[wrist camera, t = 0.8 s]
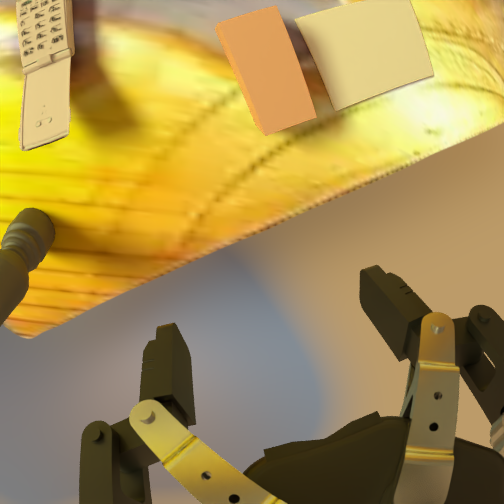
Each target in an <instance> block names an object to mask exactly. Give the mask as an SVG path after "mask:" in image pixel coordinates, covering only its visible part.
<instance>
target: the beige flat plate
mask: <svg viewBox="0 0 504 504" xmlns="http://www.w3.org/2000/svg"><path fill="white" fill-rule="evenodd" d="M294 20H295V22H296V24H297V26H298V28H299V30H300V32H301V34H302V36H303V38H304V40H305V42H306V45H307V47H308V49H309V51H310V53H311V55H312V58H313V60H314V62H315V64H316V67H317V69H318V71H319V73H320V76H321V78H322V81H323V83H324V85H325V88H326V90H327V93H328V95H329V98H330V100H331V103H332V105H333V108H334V111H338V110H340V109H343V108H345V107H347V106H350V105H352V104H355V103H357V102H360V101H362V100H365V99H367V98H370V97H372V96H375V95H378V94H380V93H383V92H386V91H388V90H391V89H394V88H396V87H399V86H402V85H405V84H408V83H411V82H414V81H417V80H420V79H423V78H426V77H429V76H432V75H434V74H433V70H432V66H431V63H430V59H429V55H428V52H427V49H426V45H425V42H424V39H423V36H422V33H421V30H420V27H419V24H418V21H417V18H416V16H415V13H414V10H413V8H412V5H411V3H410V0H365V1H360V2H355V3H351V4H347V5H342V6H338V7H334V8H331V9H327V10H323V11H320V12H316V13H313V14H310V15H306V16H303V17H300V18H297V19H294Z"/></svg>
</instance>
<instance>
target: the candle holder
mask: <svg viewBox="0 0 504 504" xmlns="http://www.w3.org/2000/svg"><path fill="white" fill-rule="evenodd" d="M54 238H55V230H54V226H53V223H52V222H51V220H50V219H49V217H48V216H47V215H46V214H44V213H43V212H42V211H41V210H38V209H35V208H26V209H24V210H23V211H21V212H20V213H19V214H18V215H17V216H16V218H15V219H14V220H13V221H12V223H11V224H10V225H9V226H8V229H7V231H6V233H5V235H4V237H3V239H2V242H1V245H2V248H1V249H0V326H1V325H2V324H3V322H4V321H5V320H6V319H7V317H8V316H9V315H10V314H11V312H12V311H13V310H14V309H15V308H16V306H17V305H18V304H19V303H20V302H21V301H22V299H23V298H24V296H25V294H26V292H27V290H28V287H29V275H28V273H29V272H30V271H32V270H34V269H36V268H37V266H38V264H39V263H40V262H42V261H43V259H44V257H45V256H46V254H47V252H48V250H49V248H50V247H51V245H52V243H53V241H54Z"/></svg>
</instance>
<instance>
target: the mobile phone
mask: <svg viewBox="0 0 504 504" xmlns="http://www.w3.org/2000/svg"><path fill="white" fill-rule="evenodd" d="M16 12H17V27H18V37H19V45H20V53H21V60H22V66H23V67H24V68H23V70H22V71H23V74H24V75H25V79H24V87H23V96H22V107H21V121H20V128H19V141H20V149H21V150H22V151H28V150H32V149H34V148H37V147H40V146H43V145H47V144H50V143H52V142H55V141H57V140H60V139H62V138H64V137H66V136H67V135H68V134H69V122H70V120H71V111H70V108H69V107H70V67H71V57H72V56H73V55H74V54H75V45H74V31H73V12H72V0H16Z"/></svg>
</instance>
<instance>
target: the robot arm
mask: <svg viewBox="0 0 504 504" xmlns="http://www.w3.org/2000/svg"><path fill="white" fill-rule="evenodd" d="M360 303H361V306H362V308H363V310H364V312H365V313H366V315H367V316H368V317H369V319H370V320H371V322H372V323H373V324H374V326H375V327H376V329H377V330H378V332H379V333H380V334H381V335H382V337H383V339H384V340H385V342H386V343H387V345H388V346H389V347H390V349H391V350H392V351H393V353H394V355H395V356H396V358H397V359H398V361H399V362H400V361H402V360H404V359H407V358H408V359H409V360H410V366H409V373H408V379H407V385H406V391H405V397H404V402H403V406H402V409H401V412H400V416H399V417H398V416H386V417H380V415H379V413H378V412H377V411H376V412H374V413H372V414H369V415H367V416H364V417H362V418H359V419H357V420H355V421H352V422H350V423H349V424H347V425H346V426H344V427H343V428H341V429H340V430H338V431H337V432H335V433H334V434H332V435H331V436H329V437H327V438H325V439H320V440H311V441H297V442H290V443H287V444H283V445H280V446H276V447H272V448H268V449H264V454H265V456H264V457H262V458H261V459H259V460H257V461H256V462H254V463H253V464H252V465H250V466H249V467H248V468H247V469H246V470H245V471H244V472H243V474H242V473H241V472H239V471H238V470H237V469H235V468H234V467H233V466H231V465H230V464H229V463H228V462H226V461H225V460H224V459H223V458H221V457H220V456H219V455H218V454H216V453H215V452H214V451H213V450H212V449H210V448H209V447H208V446H207V445H206V444H204V443H203V442H202V441H201V440H200V439H199V438H197V437H196V436H194V435H193V434H191V433H190V432H189V431H188V426H191V425H196V419H195V407H194V395H193V381H192V366H191V356H190V352H189V350H188V347H187V345H186V343H185V341H184V339H183V337H182V335H181V333H180V331H179V329H178V327H177V325H176V324H175V323H171V324H166V325H162V326H158V327H157V330H156V340H152V341H149V342H148V344H147V346H146V347H145V349H144V351H143V363H142V372H141V385H140V399H139V403H138V404H136V405H135V406H134V408H133V409H132V410H131V413H130V416H129V417H128V418H127V419H125V420H123V421H120V422H118V423H116V424H113V425H111V426H109V425H108V424H107V423H106V422H104V421H95V422H92V423H90V424H89V425H88V426H87V427H86V428H85V429H84V431H83V434H82V439H81V454H80V478H79V504H152V499H151V491H150V482H149V471H148V466H149V465H151V464H154V463H156V462H159V461H162V464H163V466H164V467H165V468H166V469H167V470H168V471H169V472H170V474H172V476H173V477H174V478H175V479H176V480H177V481H178V482H179V483H180V484H182V486H184V487H185V489H187V490H188V491H189V492H190V493H191V494H192V495H193V496H194V497H195V498H196V499H197V500H198V501H199V502H201V503H202V504H504V321H503V320H502V319H501V318H500V316H499V315H498V314H497V313H496V312H495V311H494V310H493V309H492V308H490V307H488V306H485V305H477V306H474V307H473V308H472V309H471V311H470V313H469V316H468V317H463V318H457V319H451V318H450V317H449V316H448V315H446V314H444V313H440V312H432V310H431V309H429V307H428V306H427V305H426V304H425V303H424V302H423V301H422V300H421V299H420V298H419V297H418V295H417V294H416V293H415V292H413V290H412V289H411V288H410V287H409V286H407V284H406V283H405V282H404V281H403V280H402V279H401V278H400V277H398V276H397V275H395V274H392V273H387V274H386V273H385V272H384V271H383V270H382V269H381V268H380V267H379V266H378V265H375V266H372V267H368V268H365V269H362V270H361V271H360ZM484 352H485V353H486V354H487V355H488V357H489V358H490V360H491V361H492V362H493V364H494V365H495V368H494V367H493V365H492V364H491V362H490V361H489V360H488V358H487V357H486V356H485V354H484ZM460 374H461V376H462V378H463V379H464V381H465V382H466V384H467V385H468V387H469V389H470V390H471V392H472V393H473V395H474V396H475V398H476V400H477V401H478V403H479V405H480V406H481V408H482V410H483V411H484V413H485V415H486V416H487V418H488V420H489V422H490V423H491V425H492V427H491V430H490V437H491V439H490V444H491V446H493V449H491V448H488V447H484V446H482V445H479V444H475V443H472V442H470V441H466V440H464V439H461V438H457V437H455V432H456V423H457V412H458V399H459V377H460Z"/></svg>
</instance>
